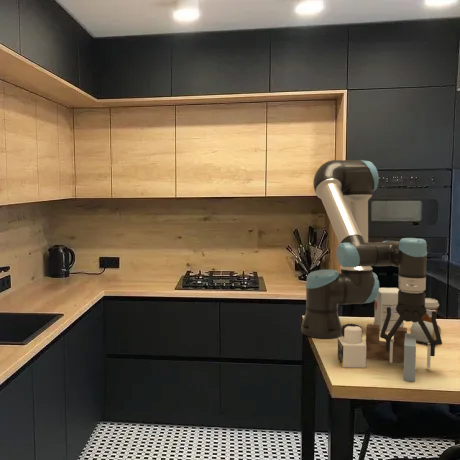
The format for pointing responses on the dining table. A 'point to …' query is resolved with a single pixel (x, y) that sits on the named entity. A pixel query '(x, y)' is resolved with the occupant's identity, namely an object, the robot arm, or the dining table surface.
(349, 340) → the medicine bottle
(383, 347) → the walnut stand
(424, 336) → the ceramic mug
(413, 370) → the slate plate
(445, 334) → the dining table surface
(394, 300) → the supplement box
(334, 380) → the dining table surface
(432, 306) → the disposable coffee cup
